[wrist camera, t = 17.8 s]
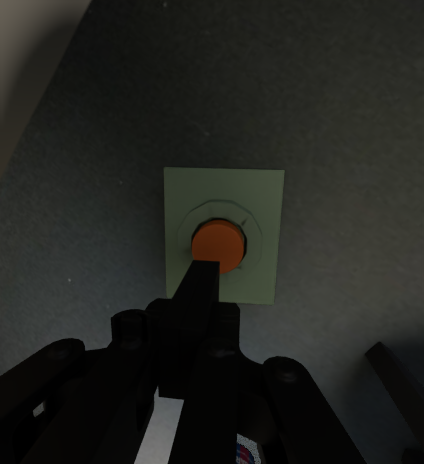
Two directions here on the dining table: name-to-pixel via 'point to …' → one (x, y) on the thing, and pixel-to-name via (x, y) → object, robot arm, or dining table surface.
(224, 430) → the robot arm
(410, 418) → the planter
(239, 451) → the cup
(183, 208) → the block
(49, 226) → the dining table surface
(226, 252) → the button
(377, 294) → the dining table surface
